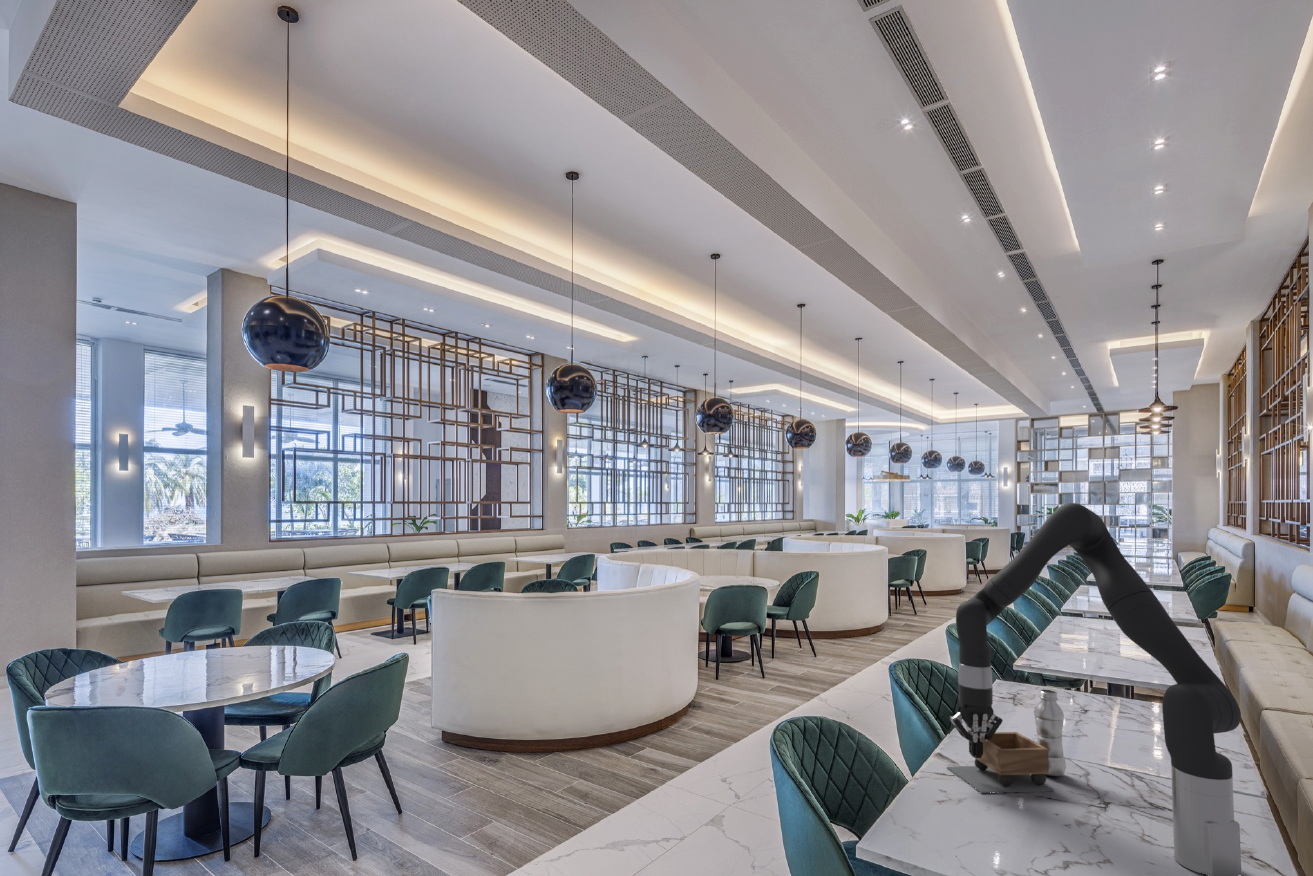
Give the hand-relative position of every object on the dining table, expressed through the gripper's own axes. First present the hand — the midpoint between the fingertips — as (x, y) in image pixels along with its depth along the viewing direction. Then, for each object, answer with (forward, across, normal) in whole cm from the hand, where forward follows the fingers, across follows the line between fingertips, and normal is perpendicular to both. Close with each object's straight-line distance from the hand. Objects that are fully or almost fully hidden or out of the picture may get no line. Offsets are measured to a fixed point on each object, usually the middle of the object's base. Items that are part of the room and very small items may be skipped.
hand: (976, 757), depth 172 cm
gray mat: (+6, +6, 0) cm, 8 cm away
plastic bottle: (+6, +21, +2) cm, 22 cm away
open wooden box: (+6, +9, 0) cm, 10 cm away
